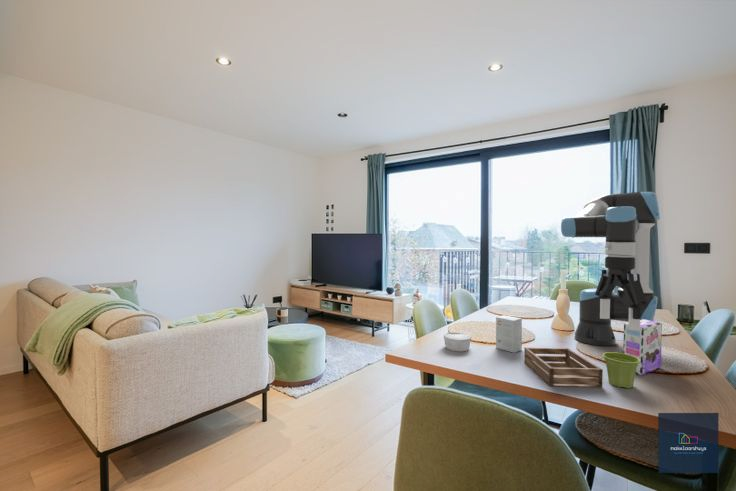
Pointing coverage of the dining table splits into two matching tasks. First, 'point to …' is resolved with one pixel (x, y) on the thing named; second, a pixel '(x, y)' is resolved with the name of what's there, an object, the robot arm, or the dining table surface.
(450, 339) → the ramekin
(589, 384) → the crate
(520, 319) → the small box
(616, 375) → the plant pot
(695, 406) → the dining table surface
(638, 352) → the candy box
